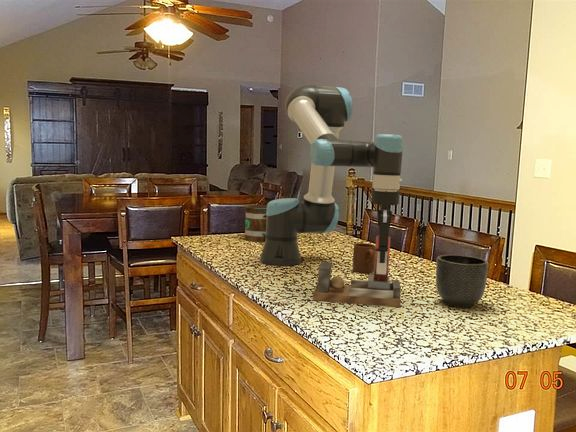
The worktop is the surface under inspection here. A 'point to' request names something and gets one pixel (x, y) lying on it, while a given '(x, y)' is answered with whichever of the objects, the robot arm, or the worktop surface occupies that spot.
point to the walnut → (337, 282)
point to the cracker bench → (354, 291)
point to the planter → (461, 279)
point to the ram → (379, 279)
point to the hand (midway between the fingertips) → (380, 271)
